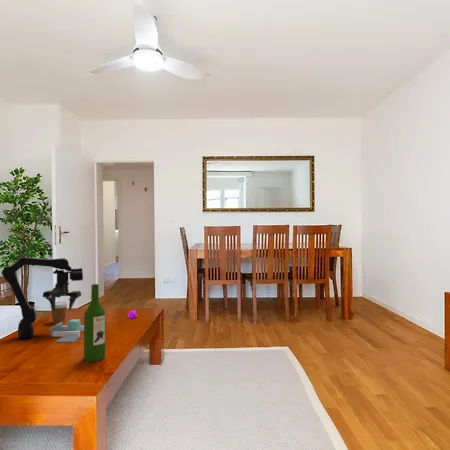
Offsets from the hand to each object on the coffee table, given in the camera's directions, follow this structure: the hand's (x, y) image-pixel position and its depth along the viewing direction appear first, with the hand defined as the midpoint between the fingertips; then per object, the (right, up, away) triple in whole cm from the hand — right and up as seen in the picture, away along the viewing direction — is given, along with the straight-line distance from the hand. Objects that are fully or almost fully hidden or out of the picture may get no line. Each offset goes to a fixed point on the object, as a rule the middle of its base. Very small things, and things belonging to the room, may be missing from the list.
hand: (61, 309), depth 187 cm
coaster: (+9, -13, -11) cm, 19 cm away
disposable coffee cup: (-11, -13, +20) cm, 27 cm away
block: (+7, -13, 0) cm, 15 cm away
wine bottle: (+32, -13, -36) cm, 49 cm away
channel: (+5, -13, 0) cm, 14 cm away
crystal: (+30, -14, +33) cm, 46 cm away
